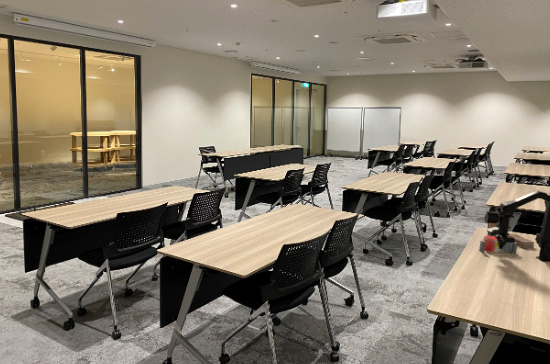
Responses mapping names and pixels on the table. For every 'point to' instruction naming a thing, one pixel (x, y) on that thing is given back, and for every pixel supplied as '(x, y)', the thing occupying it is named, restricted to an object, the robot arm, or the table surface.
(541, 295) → the table surface
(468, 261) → the table surface
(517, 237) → the brick
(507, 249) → the door
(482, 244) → the door frame
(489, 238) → the red white patterned box
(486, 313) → the table surface
